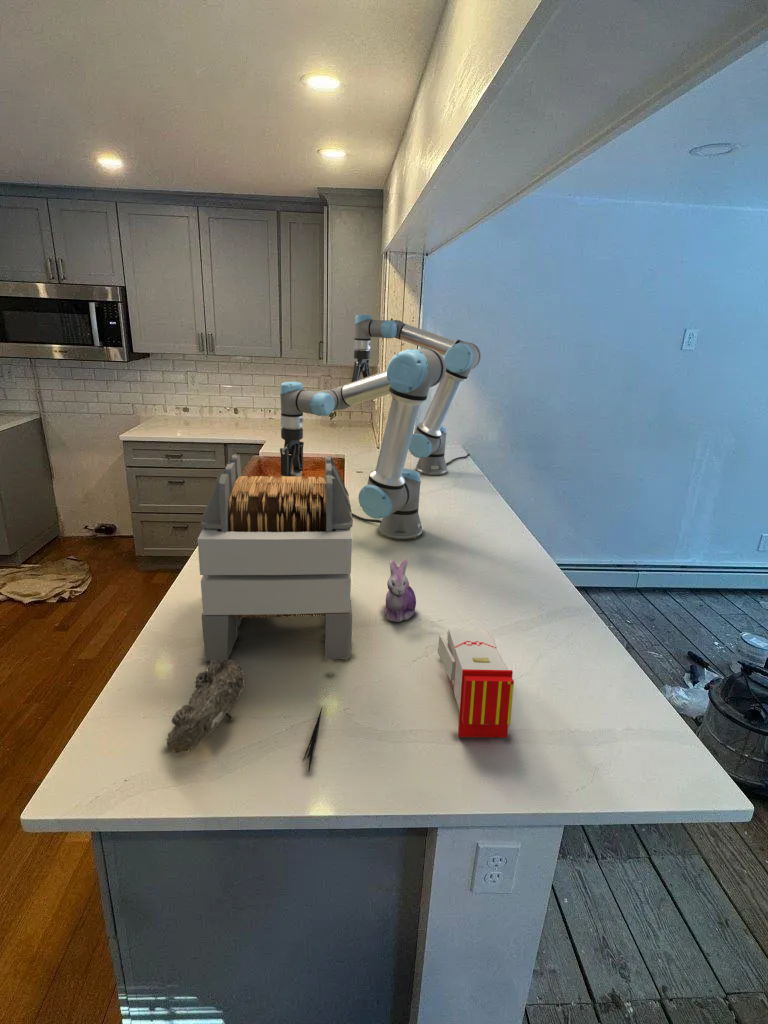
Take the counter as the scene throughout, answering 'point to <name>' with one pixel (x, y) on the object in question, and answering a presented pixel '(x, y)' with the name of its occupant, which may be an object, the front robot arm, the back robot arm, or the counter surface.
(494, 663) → the toy
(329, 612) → the record storage crate
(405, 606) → the figurine
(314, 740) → the feather
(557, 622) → the counter surface
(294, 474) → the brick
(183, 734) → the fossil
